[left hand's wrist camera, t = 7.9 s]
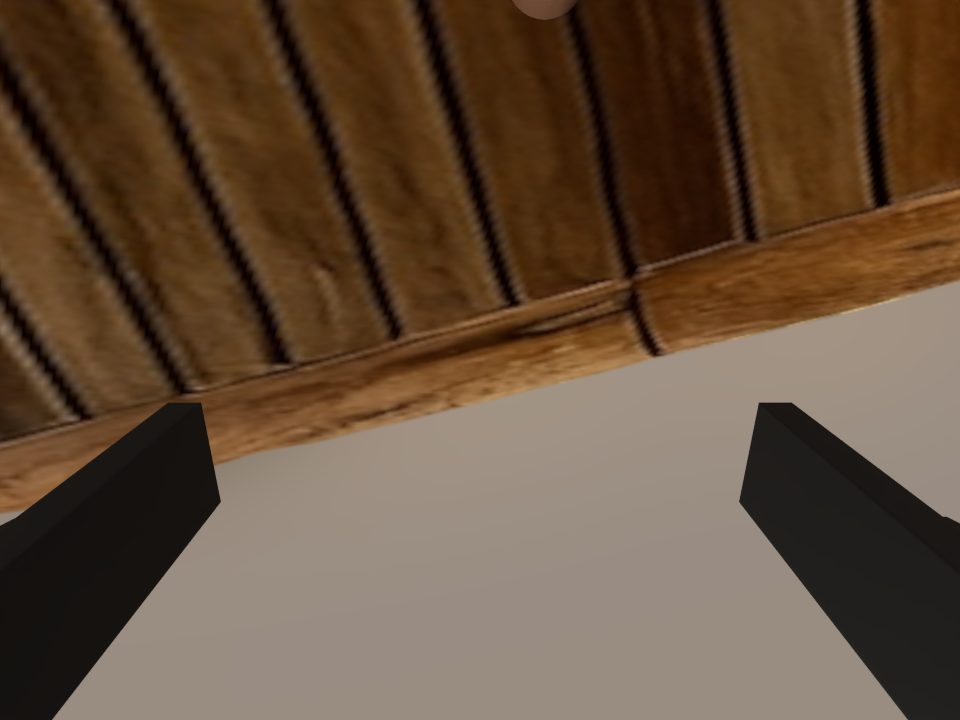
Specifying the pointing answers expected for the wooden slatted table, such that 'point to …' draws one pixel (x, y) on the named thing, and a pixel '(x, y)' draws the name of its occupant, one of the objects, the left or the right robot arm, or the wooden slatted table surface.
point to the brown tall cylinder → (545, 7)
